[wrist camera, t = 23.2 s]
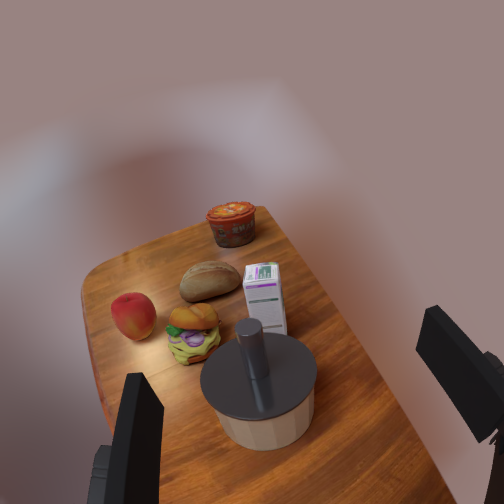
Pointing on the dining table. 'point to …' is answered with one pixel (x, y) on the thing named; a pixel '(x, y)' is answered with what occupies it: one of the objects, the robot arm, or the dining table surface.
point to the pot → (270, 428)
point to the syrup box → (265, 296)
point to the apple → (134, 315)
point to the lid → (258, 374)
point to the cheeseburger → (193, 332)
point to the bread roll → (208, 280)
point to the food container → (232, 223)
